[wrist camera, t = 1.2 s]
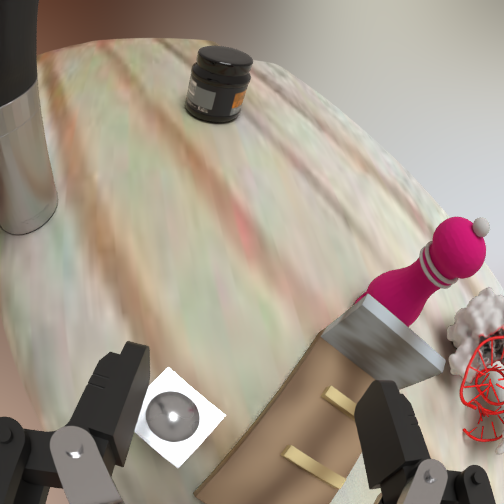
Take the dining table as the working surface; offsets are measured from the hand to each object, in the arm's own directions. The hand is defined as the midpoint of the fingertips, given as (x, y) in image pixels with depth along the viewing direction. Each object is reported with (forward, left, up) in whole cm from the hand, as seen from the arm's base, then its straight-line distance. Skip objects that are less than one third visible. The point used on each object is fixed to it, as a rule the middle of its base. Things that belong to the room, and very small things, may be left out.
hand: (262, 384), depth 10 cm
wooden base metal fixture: (+10, +5, -20) cm, 22 cm away
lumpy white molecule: (+31, +24, -20) cm, 44 cm away
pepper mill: (+9, +23, -20) cm, 31 cm away
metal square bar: (-2, -2, -20) cm, 20 cm away
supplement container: (-33, +39, -20) cm, 54 cm away
